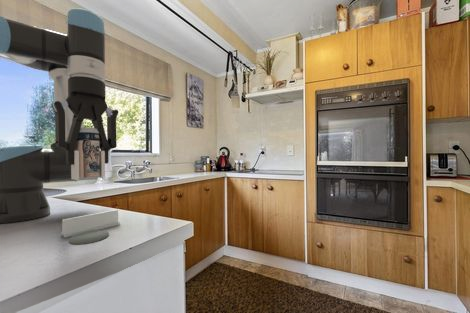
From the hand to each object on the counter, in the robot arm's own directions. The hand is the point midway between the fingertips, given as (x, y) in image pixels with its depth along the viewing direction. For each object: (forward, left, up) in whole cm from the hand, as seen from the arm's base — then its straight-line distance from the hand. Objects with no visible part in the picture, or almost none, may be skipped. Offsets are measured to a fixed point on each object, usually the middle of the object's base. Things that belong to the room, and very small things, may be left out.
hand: (88, 178), depth 55 cm
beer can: (0, 0, -1) cm, 1 cm away
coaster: (0, 0, -14) cm, 14 cm away
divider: (-7, +3, -14) cm, 16 cm away
